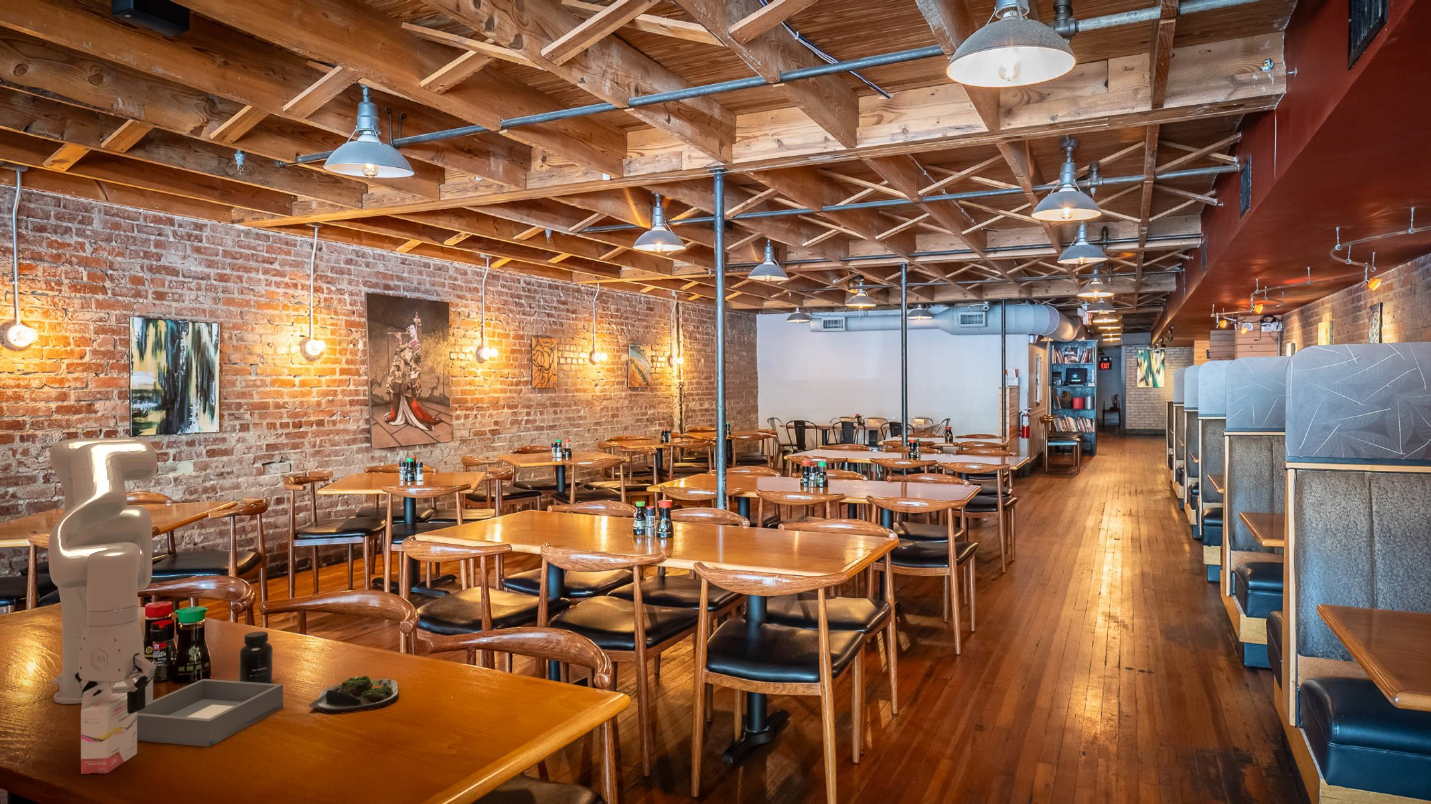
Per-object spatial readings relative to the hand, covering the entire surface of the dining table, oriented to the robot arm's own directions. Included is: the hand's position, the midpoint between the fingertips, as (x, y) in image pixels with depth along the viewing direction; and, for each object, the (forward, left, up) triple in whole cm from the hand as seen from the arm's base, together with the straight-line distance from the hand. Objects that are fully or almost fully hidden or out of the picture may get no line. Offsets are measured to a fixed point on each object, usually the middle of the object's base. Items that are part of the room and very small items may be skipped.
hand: (114, 709), depth 149 cm
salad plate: (+25, +36, -11) cm, 45 cm away
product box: (-17, +20, -10) cm, 29 cm away
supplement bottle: (-4, +40, -10) cm, 42 cm away
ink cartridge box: (-1, 0, -10) cm, 10 cm away
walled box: (+2, +19, -10) cm, 22 cm away
